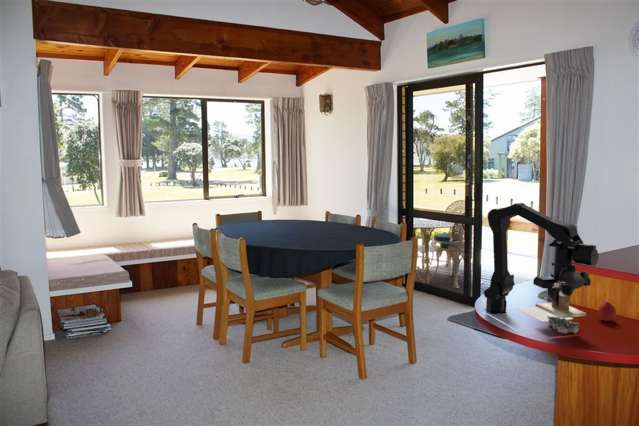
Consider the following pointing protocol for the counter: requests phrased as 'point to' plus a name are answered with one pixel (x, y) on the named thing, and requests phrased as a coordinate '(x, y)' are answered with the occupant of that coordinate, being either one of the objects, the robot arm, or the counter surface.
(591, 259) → the robot arm
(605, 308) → the onion
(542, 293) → the ceramic mug
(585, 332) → the counter surface
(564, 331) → the grey jagged ring sculpture
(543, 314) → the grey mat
